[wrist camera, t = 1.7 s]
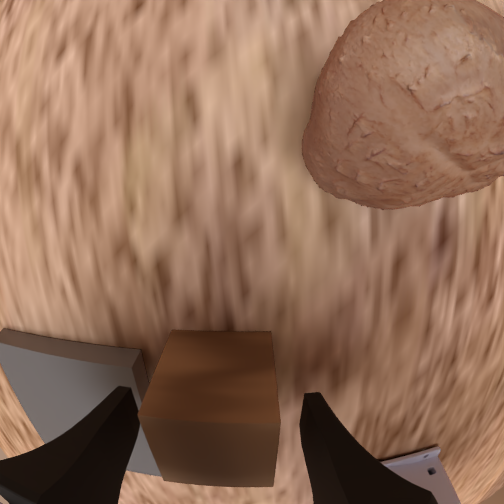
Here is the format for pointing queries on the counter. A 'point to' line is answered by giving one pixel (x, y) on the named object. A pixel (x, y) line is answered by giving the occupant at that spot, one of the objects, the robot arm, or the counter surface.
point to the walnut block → (214, 409)
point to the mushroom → (410, 105)
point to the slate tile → (72, 384)
